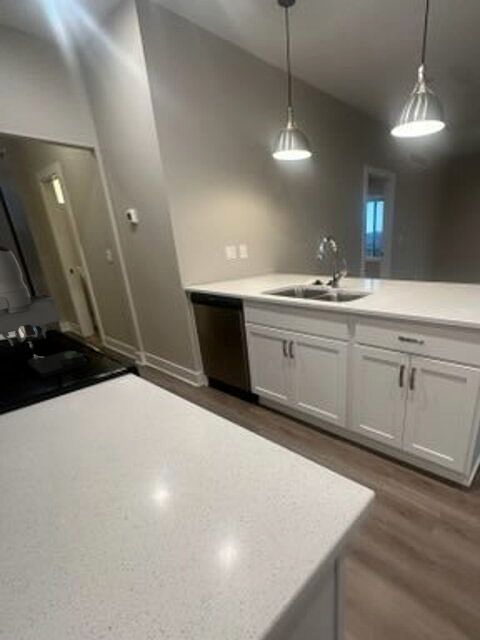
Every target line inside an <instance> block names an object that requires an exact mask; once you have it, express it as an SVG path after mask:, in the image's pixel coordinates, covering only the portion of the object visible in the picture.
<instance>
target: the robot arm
mask: <svg viewBox="0 0 480 640" xmlns="http://www.w3.org/2000/svg"><path fill="white" fill-rule="evenodd" d="M28 291H29V288H28V287H27V285H26V284H25V282H24V279H23V273H22V269H21V267H20V264H19V262H18V260H17V258H16V255H15V254H14V253H13V252H12V250H11V249H9V248H8V247H6V246H2V245H0V335H1V337H3V338H4V339H6V340H8V342H9V345H10V346H11V347H16V346H18V345H19V344H18V342H17V340H16V339H15V338H13V339H11V338H10V337H9V336H10V334H9V333H13V332H15V331H18V330H19V328H20V326H25V325H29V324H30V325H31V326H32V327H36V326H40V328H42V330H41V333H39V334H38V335H39V340H43V339H45V340H46V339H47V336H45V332H46V333H47V328H48V327H47V325H50V324H55V323H58V322H59V321H60V316H59V313H58V311H57V309H56V302H55V300H54V297H52V296H51V295H47V294H42V295H36V296H35V295H34V296H31V295H30V294H29V293H30V291H29V292H28Z"/></svg>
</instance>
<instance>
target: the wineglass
mask: <svg viewBox="0 0 480 640" xmlns="http://www.w3.org/2000/svg"><path fill="white" fill-rule="evenodd" d="M14 335H15V338H16V339H17V341H18V342H20V343H21V344H24V345H25V344H26V345H29V348H30V349H31V351H32V354H33V357H31V358H29V359H28V360H27V362H28V361H32V360H36V359H39V358H43V357H45V356H42V355H39V356H38V355H37V354H36V352H35V349H34V345H33V344H34V343H36V342H37V340H39V339H38V332H37V330H36V328H35V327H32V326H31V325H30V324H29V325H25V326H20V328H19V330H18V331H14Z"/></svg>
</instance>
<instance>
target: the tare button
mask: <svg viewBox="0 0 480 640" xmlns="http://www.w3.org/2000/svg"><path fill="white" fill-rule="evenodd" d="M70 351H71V352H67V353H65V354H64V355H65V358H66V359H71V358H75V357H77V356H78V355H77V353H78V352H77V351H76V350H70Z"/></svg>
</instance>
